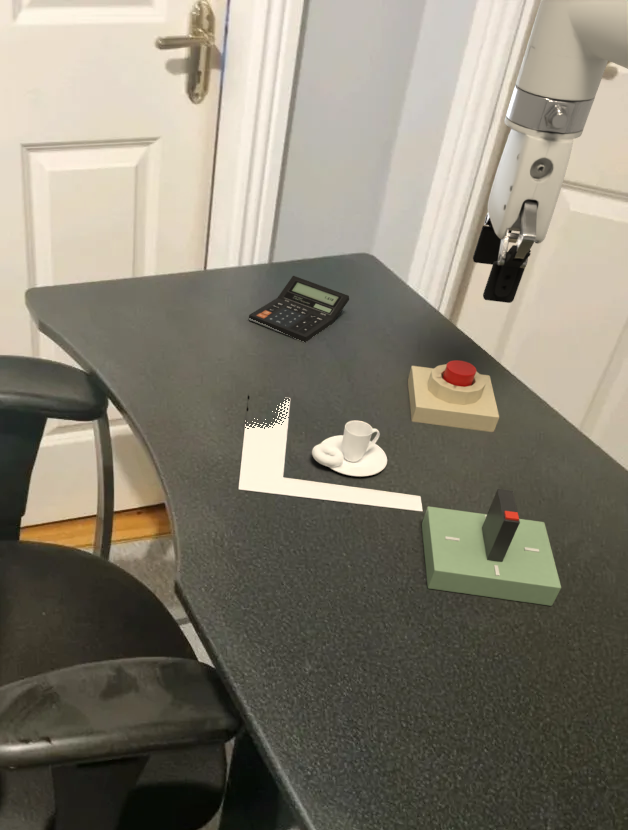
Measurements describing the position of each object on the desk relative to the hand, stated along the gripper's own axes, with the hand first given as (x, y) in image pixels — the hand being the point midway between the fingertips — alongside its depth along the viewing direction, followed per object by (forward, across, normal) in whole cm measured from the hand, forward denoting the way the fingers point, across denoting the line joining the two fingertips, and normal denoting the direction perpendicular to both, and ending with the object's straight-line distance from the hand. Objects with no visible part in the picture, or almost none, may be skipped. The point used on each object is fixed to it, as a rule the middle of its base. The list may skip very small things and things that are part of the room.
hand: (491, 280), depth 95 cm
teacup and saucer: (+17, -12, +15) cm, 26 cm away
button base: (+17, +1, 0) cm, 17 cm away
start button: (+13, +1, 0) cm, 13 cm away
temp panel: (+16, -29, -1) cm, 34 cm away
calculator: (+17, +20, +20) cm, 33 cm away
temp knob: (+14, -29, -1) cm, 32 cm away
